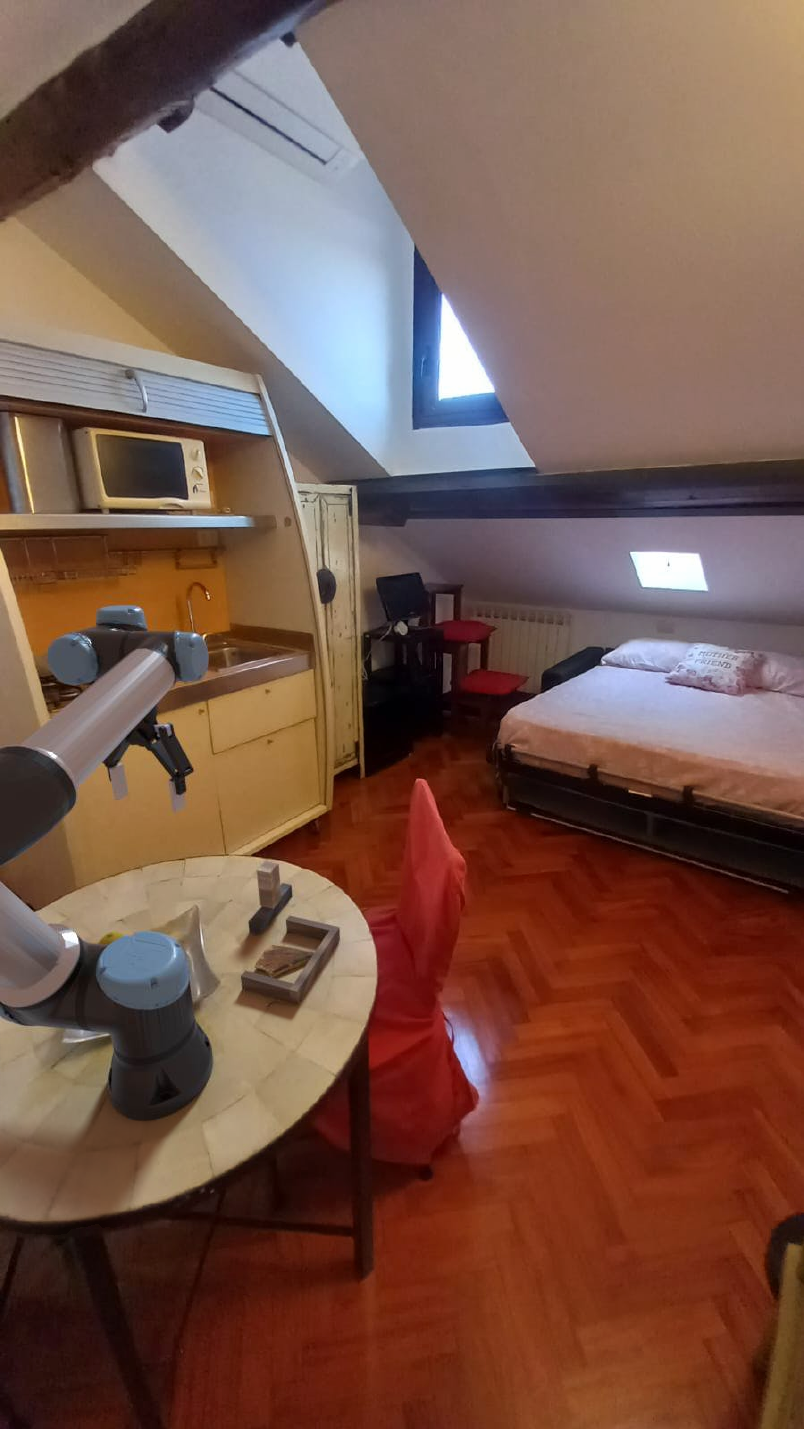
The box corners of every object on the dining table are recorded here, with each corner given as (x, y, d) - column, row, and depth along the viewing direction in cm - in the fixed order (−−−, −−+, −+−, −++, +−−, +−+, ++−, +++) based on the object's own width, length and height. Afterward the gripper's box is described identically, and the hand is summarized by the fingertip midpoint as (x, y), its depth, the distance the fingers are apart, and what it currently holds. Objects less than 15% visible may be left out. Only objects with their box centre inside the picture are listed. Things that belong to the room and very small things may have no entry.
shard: (320, 958, 117) (320, 951, 117) (305, 987, 110) (304, 979, 110) (270, 949, 120) (269, 942, 119) (252, 976, 113) (251, 969, 112)
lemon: (101, 981, 111) (93, 946, 109) (101, 962, 116) (94, 928, 113) (133, 972, 113) (126, 938, 111) (132, 953, 118) (126, 920, 115)
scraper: (261, 936, 123) (256, 887, 119) (247, 932, 124) (242, 884, 120) (294, 896, 136) (290, 850, 132) (281, 893, 137) (277, 848, 133)
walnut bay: (298, 1005, 106) (297, 991, 105) (242, 989, 109) (240, 976, 108) (340, 939, 122) (339, 927, 121) (290, 927, 125) (289, 915, 124)
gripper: (205, 696, 104) (218, 805, 111) (95, 682, 112) (113, 784, 119) (176, 709, 97) (191, 823, 104) (61, 693, 105) (83, 801, 112)
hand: (150, 803), depth 111 cm, fingers open, 13 cm apart
